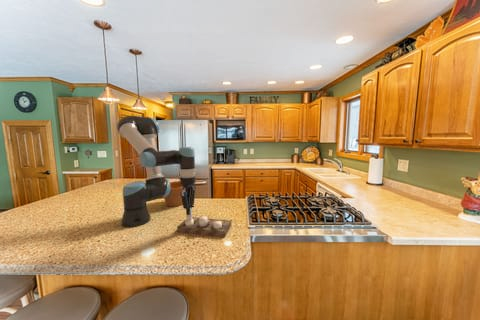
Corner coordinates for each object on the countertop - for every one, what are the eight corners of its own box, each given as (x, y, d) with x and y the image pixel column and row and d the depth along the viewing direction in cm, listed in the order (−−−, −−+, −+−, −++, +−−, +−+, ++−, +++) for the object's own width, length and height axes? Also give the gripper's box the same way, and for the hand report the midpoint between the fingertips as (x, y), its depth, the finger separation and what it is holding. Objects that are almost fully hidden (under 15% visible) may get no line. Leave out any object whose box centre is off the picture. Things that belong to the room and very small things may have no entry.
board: (177, 232, 100) (177, 226, 99) (189, 221, 112) (188, 216, 112) (224, 237, 94) (224, 231, 94) (231, 225, 107) (231, 220, 106)
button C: (212, 231, 97) (212, 224, 97) (215, 227, 102) (215, 220, 101) (220, 232, 96) (220, 224, 96) (223, 228, 101) (222, 221, 100)
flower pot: (173, 210, 130) (172, 189, 129) (155, 204, 142) (154, 185, 140) (196, 201, 148) (195, 183, 146) (178, 197, 159) (177, 180, 158)
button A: (183, 228, 101) (183, 221, 100) (187, 224, 105) (187, 218, 104) (191, 229, 100) (191, 222, 99) (195, 225, 104) (194, 218, 104)
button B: (197, 226, 99) (197, 219, 98) (201, 222, 103) (201, 215, 103) (205, 227, 98) (205, 219, 97) (208, 223, 102) (208, 216, 102)
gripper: (188, 179, 92) (190, 225, 95) (199, 174, 105) (201, 215, 107) (174, 178, 94) (176, 224, 96) (187, 174, 106) (188, 214, 109)
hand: (189, 219), depth 102 cm, fingers closed
